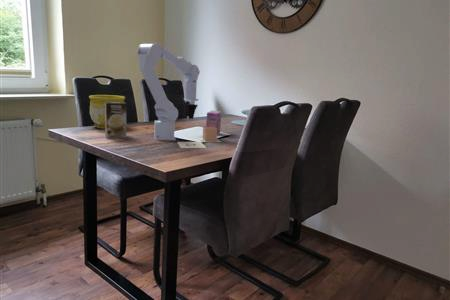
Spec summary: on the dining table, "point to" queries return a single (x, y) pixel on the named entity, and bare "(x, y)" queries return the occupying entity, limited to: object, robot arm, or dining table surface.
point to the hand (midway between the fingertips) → (189, 117)
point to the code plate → (191, 145)
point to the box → (214, 120)
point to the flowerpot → (101, 107)
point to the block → (209, 133)
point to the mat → (211, 141)
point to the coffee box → (115, 119)
